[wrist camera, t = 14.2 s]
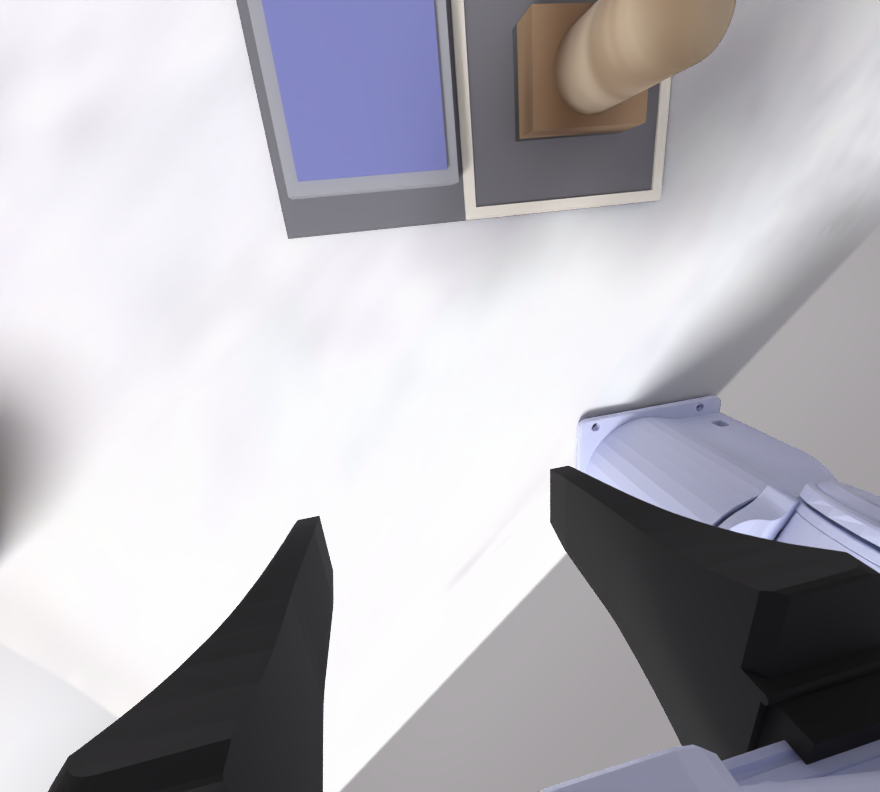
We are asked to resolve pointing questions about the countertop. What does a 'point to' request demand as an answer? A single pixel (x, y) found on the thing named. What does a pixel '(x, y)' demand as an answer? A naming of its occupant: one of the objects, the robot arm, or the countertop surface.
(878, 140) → the countertop surface
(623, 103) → the stamp
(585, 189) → the stamp mat
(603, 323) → the countertop surface
